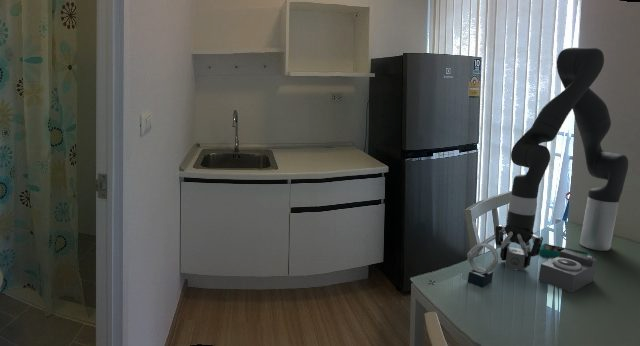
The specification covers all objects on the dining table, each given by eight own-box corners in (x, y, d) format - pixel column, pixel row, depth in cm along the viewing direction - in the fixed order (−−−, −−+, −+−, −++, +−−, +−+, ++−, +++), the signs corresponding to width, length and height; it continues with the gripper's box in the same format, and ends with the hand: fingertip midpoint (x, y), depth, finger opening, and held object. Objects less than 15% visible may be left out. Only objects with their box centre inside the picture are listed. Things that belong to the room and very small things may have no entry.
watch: (470, 274, 129) (475, 238, 127) (497, 284, 124) (503, 246, 122) (460, 279, 125) (465, 242, 123) (488, 290, 120) (494, 250, 118)
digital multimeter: (540, 249, 154) (541, 241, 154) (590, 260, 147) (591, 252, 146) (537, 256, 148) (538, 247, 147) (589, 268, 140) (591, 259, 140)
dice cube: (505, 262, 140) (507, 246, 139) (523, 265, 138) (525, 249, 137) (504, 267, 136) (507, 251, 135) (522, 271, 134) (525, 255, 133)
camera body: (561, 269, 136) (565, 247, 135) (593, 280, 130) (597, 257, 128) (538, 280, 128) (542, 256, 126) (571, 292, 121) (575, 267, 120)
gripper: (552, 215, 131) (543, 269, 134) (506, 203, 142) (499, 253, 145) (539, 218, 126) (530, 274, 130) (492, 206, 137) (485, 258, 141)
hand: (514, 263), depth 137 cm, fingers closed on dice cube, 6 cm apart
